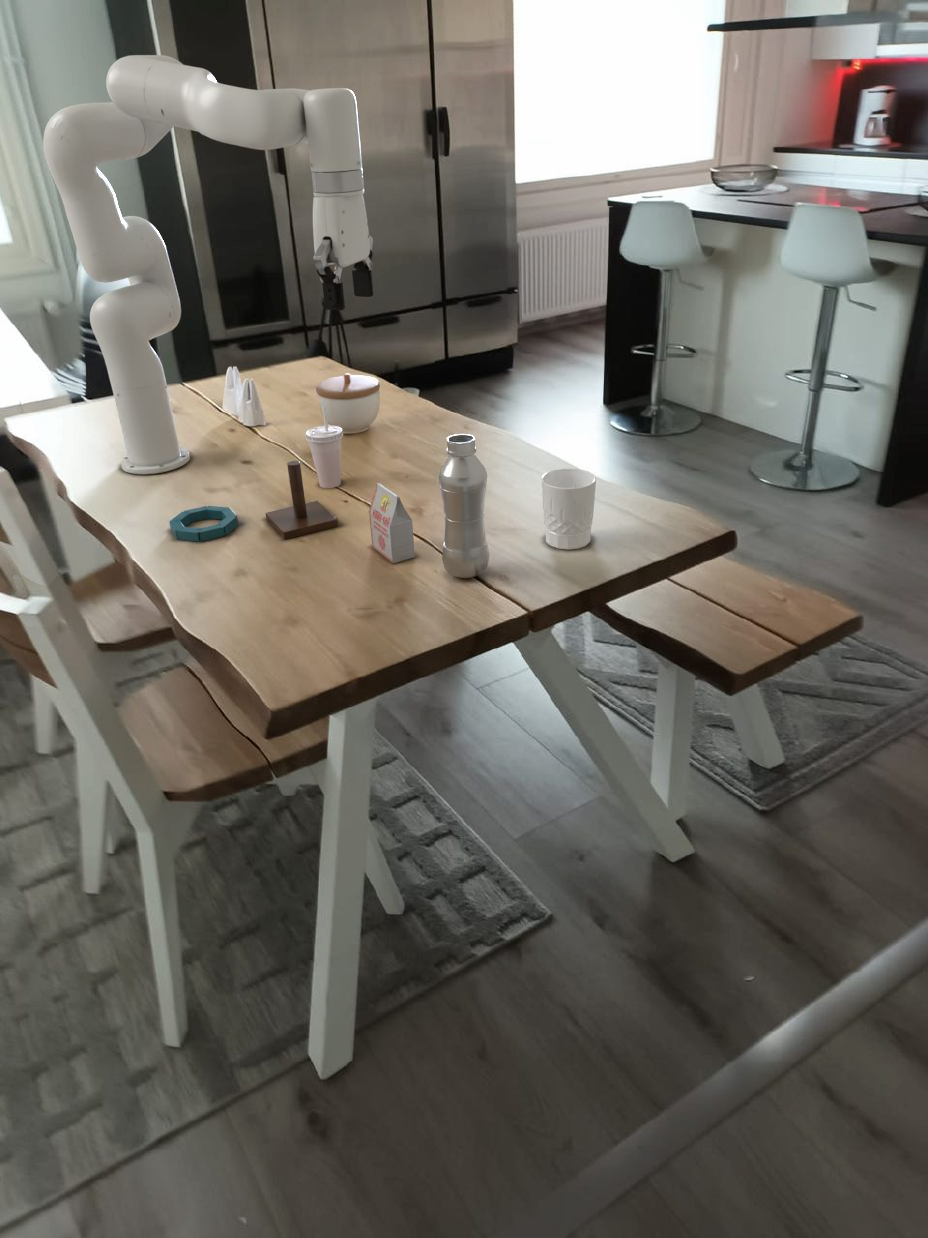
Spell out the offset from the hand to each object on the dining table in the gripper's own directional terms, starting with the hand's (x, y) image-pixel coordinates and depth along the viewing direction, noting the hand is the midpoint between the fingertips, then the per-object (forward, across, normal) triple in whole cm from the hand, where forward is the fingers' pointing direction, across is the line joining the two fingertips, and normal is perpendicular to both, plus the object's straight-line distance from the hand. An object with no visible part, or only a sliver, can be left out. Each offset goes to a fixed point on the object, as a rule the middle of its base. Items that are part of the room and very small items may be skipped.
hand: (349, 302), depth 149 cm
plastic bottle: (+31, +25, +28) cm, 49 cm away
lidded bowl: (+31, -28, -18) cm, 46 cm away
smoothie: (+31, 0, -7) cm, 32 cm away
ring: (+31, +22, -18) cm, 43 cm away
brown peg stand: (+31, +16, -4) cm, 35 cm away
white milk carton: (+31, +22, +15) cm, 41 cm away
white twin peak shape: (+31, -26, -42) cm, 59 cm away
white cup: (+31, +10, +39) cm, 51 cm away
